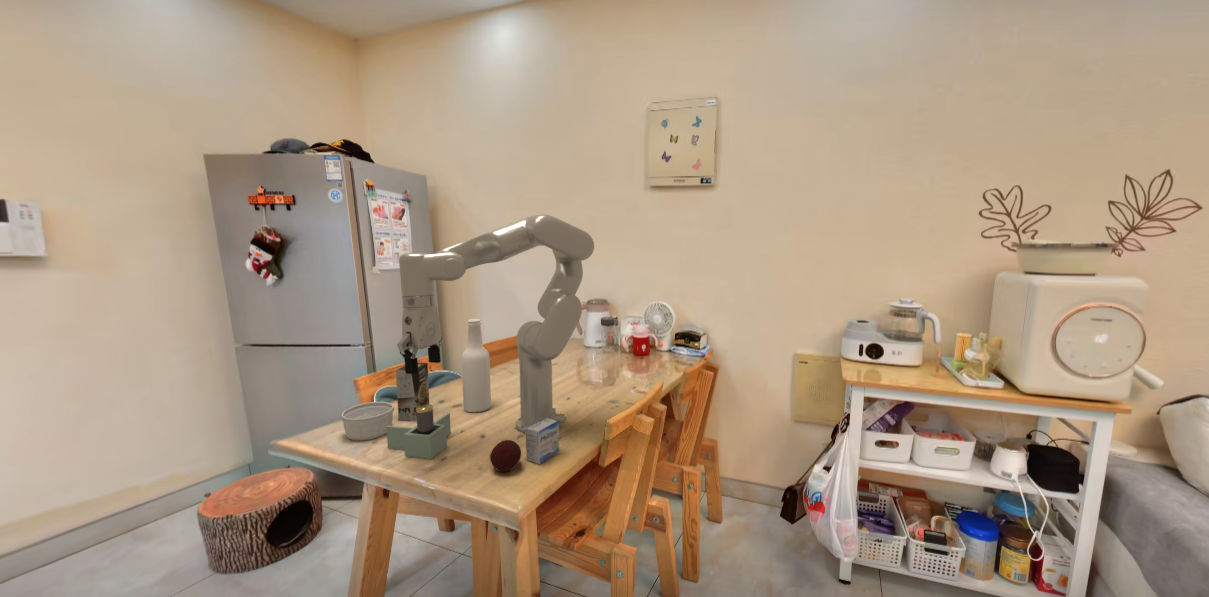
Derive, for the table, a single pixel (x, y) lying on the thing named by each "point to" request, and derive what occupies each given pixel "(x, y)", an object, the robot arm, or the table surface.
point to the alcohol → (476, 371)
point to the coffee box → (412, 391)
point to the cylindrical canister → (425, 419)
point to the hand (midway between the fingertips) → (423, 367)
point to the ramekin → (367, 420)
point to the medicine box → (542, 440)
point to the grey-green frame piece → (420, 439)
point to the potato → (505, 455)
